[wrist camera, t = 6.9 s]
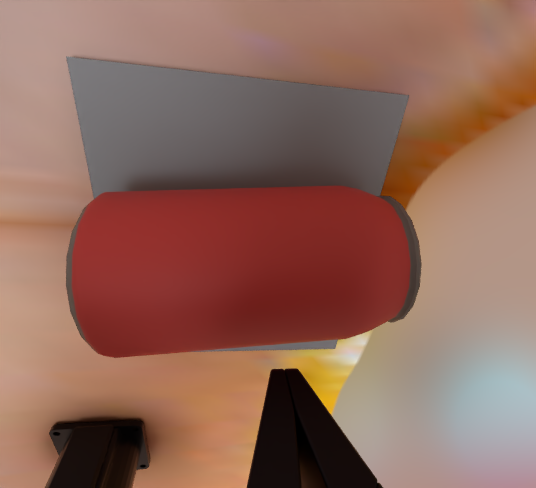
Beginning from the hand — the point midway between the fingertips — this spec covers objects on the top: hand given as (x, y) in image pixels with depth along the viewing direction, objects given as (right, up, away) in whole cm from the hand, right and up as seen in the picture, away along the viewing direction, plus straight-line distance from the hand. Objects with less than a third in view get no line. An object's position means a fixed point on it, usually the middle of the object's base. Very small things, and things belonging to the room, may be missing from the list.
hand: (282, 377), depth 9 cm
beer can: (-7, +3, +3) cm, 8 cm away
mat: (-2, +4, +7) cm, 9 cm away
